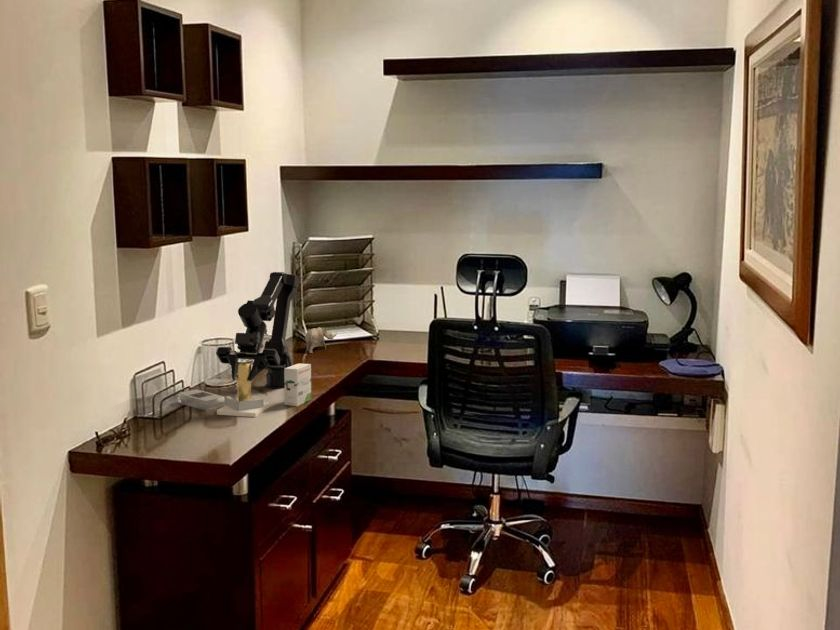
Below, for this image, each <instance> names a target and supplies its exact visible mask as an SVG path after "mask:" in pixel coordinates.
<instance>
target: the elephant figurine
mask: <svg viewBox="0 0 840 630" xmlns="http://www.w3.org/2000/svg"><path fill="white" fill-rule="evenodd" d="M324 327H325V326H322V327H320V326H319V327H317V328H315V327H314V328H311V329H309V330H308V331H307V332H306V333H305V335H304V338H305V342H306V344H307V345H306V346H307V347H306V350H305V351H306V352H308V354H309V353H310V354H311V353H314V352H313V349H314V348H315V347H324V348H325V349H324V348H323V349H324V350H327V344H326V343H325V338H326V339H327V340H334V338H335V337H336V336H337V334H338V333H337V332H336V333H335V334H332V332H328V331H327V330H328V328H327V327H325V328H324Z"/></svg>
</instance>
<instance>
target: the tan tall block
mask: <svg viewBox="0 0 840 630" xmlns="http://www.w3.org/2000/svg"><path fill="white" fill-rule="evenodd" d="M251 369H252V363H251V362H239V363H238V373H237V376H236V379H237V382H236V383H237V385H236V387H237V392H236V393H237V395H236V400H237V401H246V400H252V395H251V394H252V381H249V376H250V372H251Z"/></svg>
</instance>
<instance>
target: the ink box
mask: <svg viewBox="0 0 840 630" xmlns="http://www.w3.org/2000/svg"><path fill="white" fill-rule="evenodd" d="M284 385H285V387H284V405H286V406H293V407H299V406H301V405H303V404H305V403H307V402H310V401H311V400H312V364H311V363H296V364H292V366H290V367H287V368H284Z"/></svg>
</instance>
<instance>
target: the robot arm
mask: <svg viewBox="0 0 840 630" xmlns="http://www.w3.org/2000/svg"><path fill="white" fill-rule="evenodd" d="M299 287H300V278H299V277H298V276H297V275H296V274H293V273H286V272H285V271H284V272H282V271H273V272H270V274H269V279H268V281H267V283H266V285H265V287H264V288H263V291H262V293H261V295H260V296H259V297H256V298H255V299H254V300H247V301H246V303H244V304H242V305H240V307H239V308H238V310H237V314H238V315H239V318H240V320H241V322H242V324H243V326H244V327H245V328H246V330H245V332H236V333H235V339H234V344H235V345H237V347H236V348H237V349H238V350H239V351H236V350H233V349H232V347H231V346H219V347H217V349H216V352H215V354H216V357H217V358H218V360H219V363H222V364H226V365H227V364H229V365H230V367H231V368H230V369H231V377H232V378H231V379H232V381H235V380H236V379H237V374H238V363H240V362H239V360H240V359H241V360H253V364H252V366H251V372H250V376H249V381H251V382H252V381H253V379H255V378H256V377H257V376H258V374H260V373H261V372H262V371H263V370H267V372H266V378H265V379H266V383H265V385H264V386H265V387H268V388H272V389H274V390H276V389H283V388H285V385H284V368H287V367H290V366H293V360H292V357H291V355H290V351H289V347H288V345H287V343H286V339H287V338H286V337H287V329H288V322H289V316H290V308H291V301H292V300H293V299H294V298H295V296H296V295H297V292H298V289H299ZM274 305H275V306H274ZM272 320H273V323H272V331H271V337H270V339H268V341H265V342H264V344H263V340H264V338H265V334H267V333H268V329H267V324H266V322H271V321H272ZM263 347H264V348H263ZM261 349H263V350H262V352H261Z"/></svg>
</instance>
